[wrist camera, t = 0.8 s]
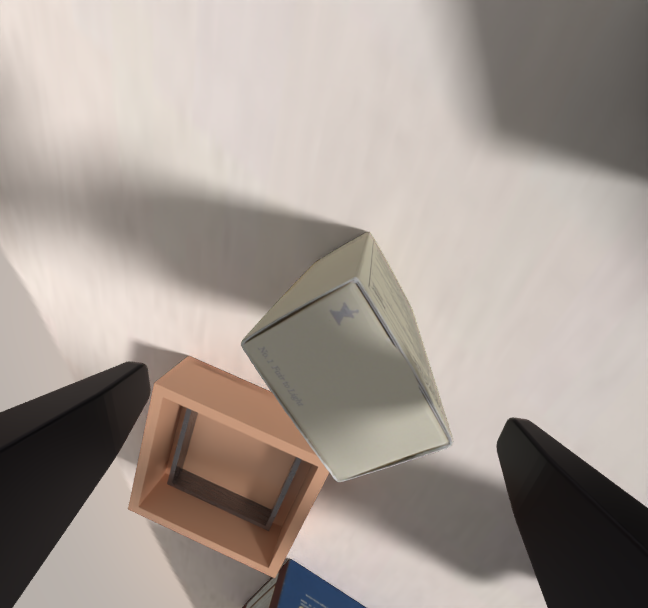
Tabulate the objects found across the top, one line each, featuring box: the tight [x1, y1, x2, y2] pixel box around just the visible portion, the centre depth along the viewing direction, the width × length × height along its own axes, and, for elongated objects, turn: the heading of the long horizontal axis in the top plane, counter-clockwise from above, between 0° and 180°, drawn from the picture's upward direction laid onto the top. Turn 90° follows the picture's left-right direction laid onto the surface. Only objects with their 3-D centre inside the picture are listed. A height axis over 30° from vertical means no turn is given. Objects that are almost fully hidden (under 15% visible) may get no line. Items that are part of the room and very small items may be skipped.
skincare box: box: [241, 232, 453, 482], centre depth 15 cm, size 6×4×12 cm
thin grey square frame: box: [167, 408, 302, 531], centre depth 26 cm, size 9×9×2 cm
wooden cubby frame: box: [128, 356, 329, 578], centre depth 25 cm, size 13×13×4 cm
